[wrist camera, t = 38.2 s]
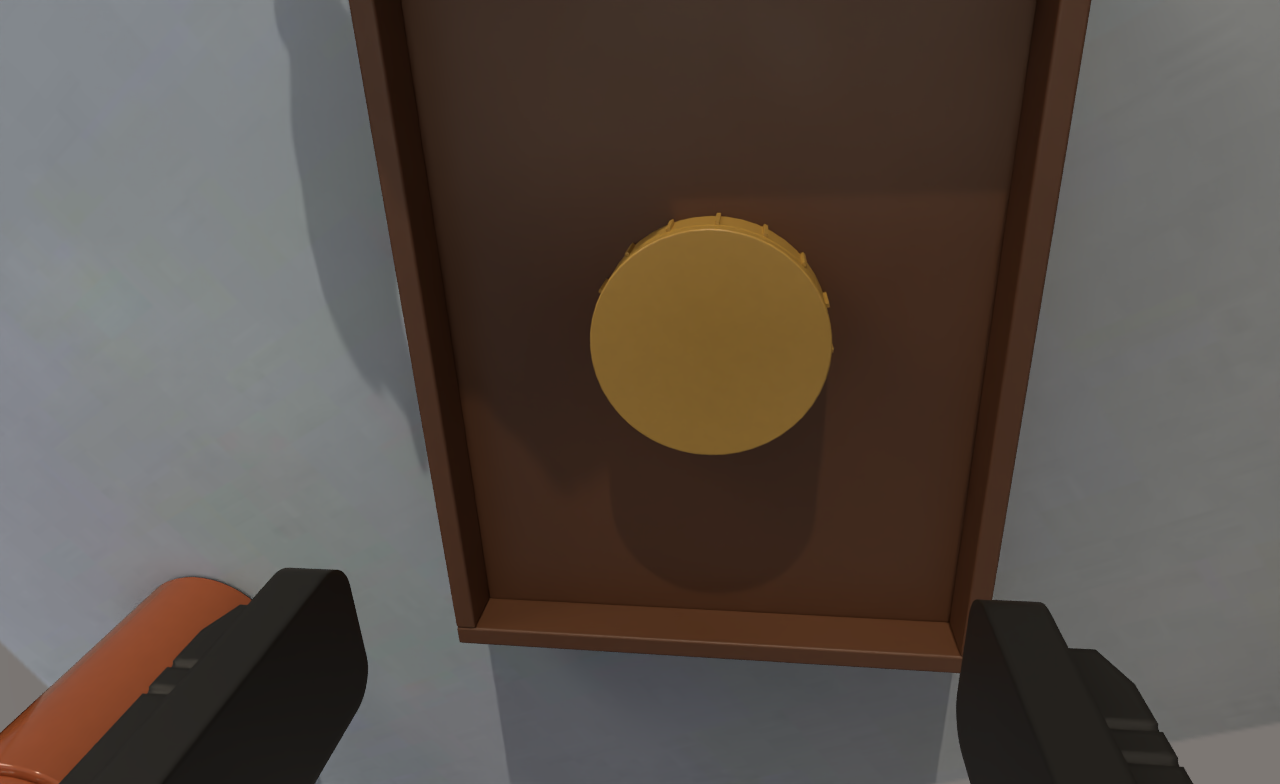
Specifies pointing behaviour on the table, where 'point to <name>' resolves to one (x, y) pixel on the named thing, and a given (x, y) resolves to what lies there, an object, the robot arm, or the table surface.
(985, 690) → the robot arm
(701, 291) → the jar lid
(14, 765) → the jar
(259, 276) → the table surface
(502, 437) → the tray
